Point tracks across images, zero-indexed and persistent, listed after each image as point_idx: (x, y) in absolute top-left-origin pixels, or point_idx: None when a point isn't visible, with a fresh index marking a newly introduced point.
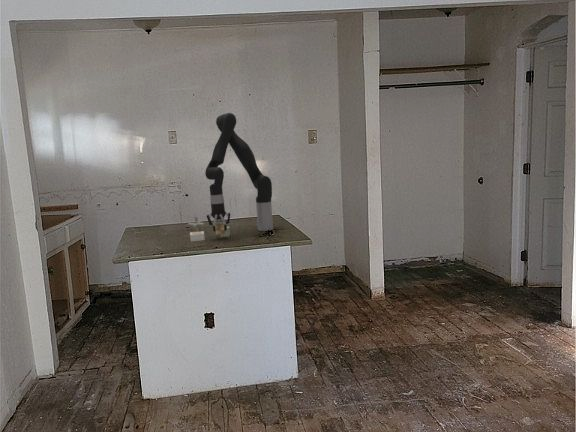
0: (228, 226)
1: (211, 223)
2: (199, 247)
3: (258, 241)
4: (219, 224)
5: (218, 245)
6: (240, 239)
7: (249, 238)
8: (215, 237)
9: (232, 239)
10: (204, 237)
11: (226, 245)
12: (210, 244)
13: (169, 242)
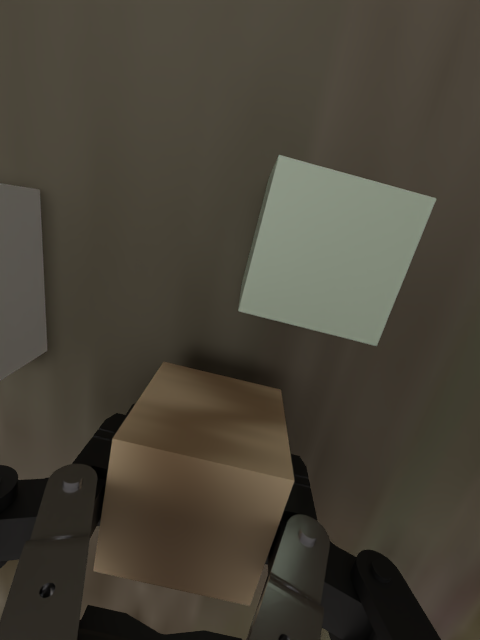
0: (417, 202)
1: (3, 551)
2: (5, 580)
3: (474, 635)
4: (186, 521)
5: (155, 596)
6: (380, 509)
7: (467, 516)
8: (173, 283)
9: (315, 472)
10: (26, 363)
11: (213, 623)
12: (95, 539)
13: None
